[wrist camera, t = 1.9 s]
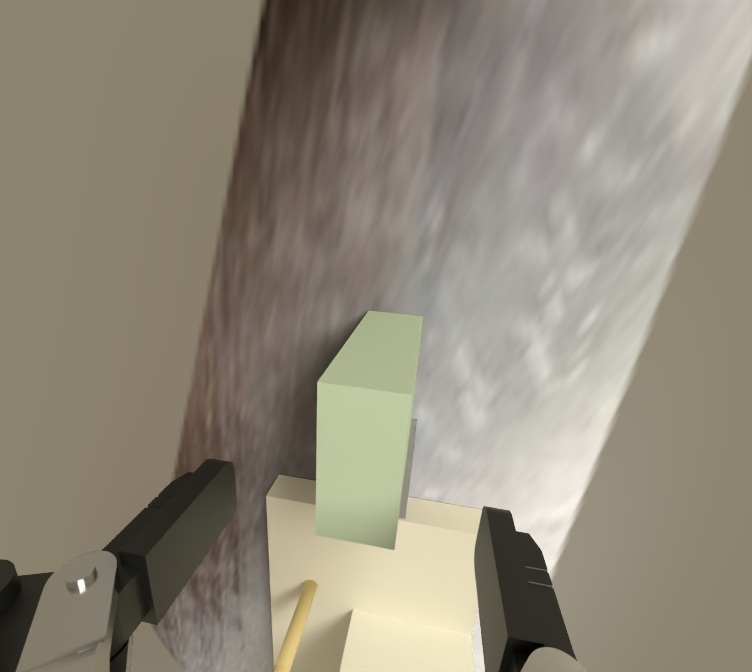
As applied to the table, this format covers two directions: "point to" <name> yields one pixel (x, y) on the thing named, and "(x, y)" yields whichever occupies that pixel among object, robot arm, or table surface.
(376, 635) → the cream peg stand
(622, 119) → the table surface
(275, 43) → the table surface
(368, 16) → the table surface
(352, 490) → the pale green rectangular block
